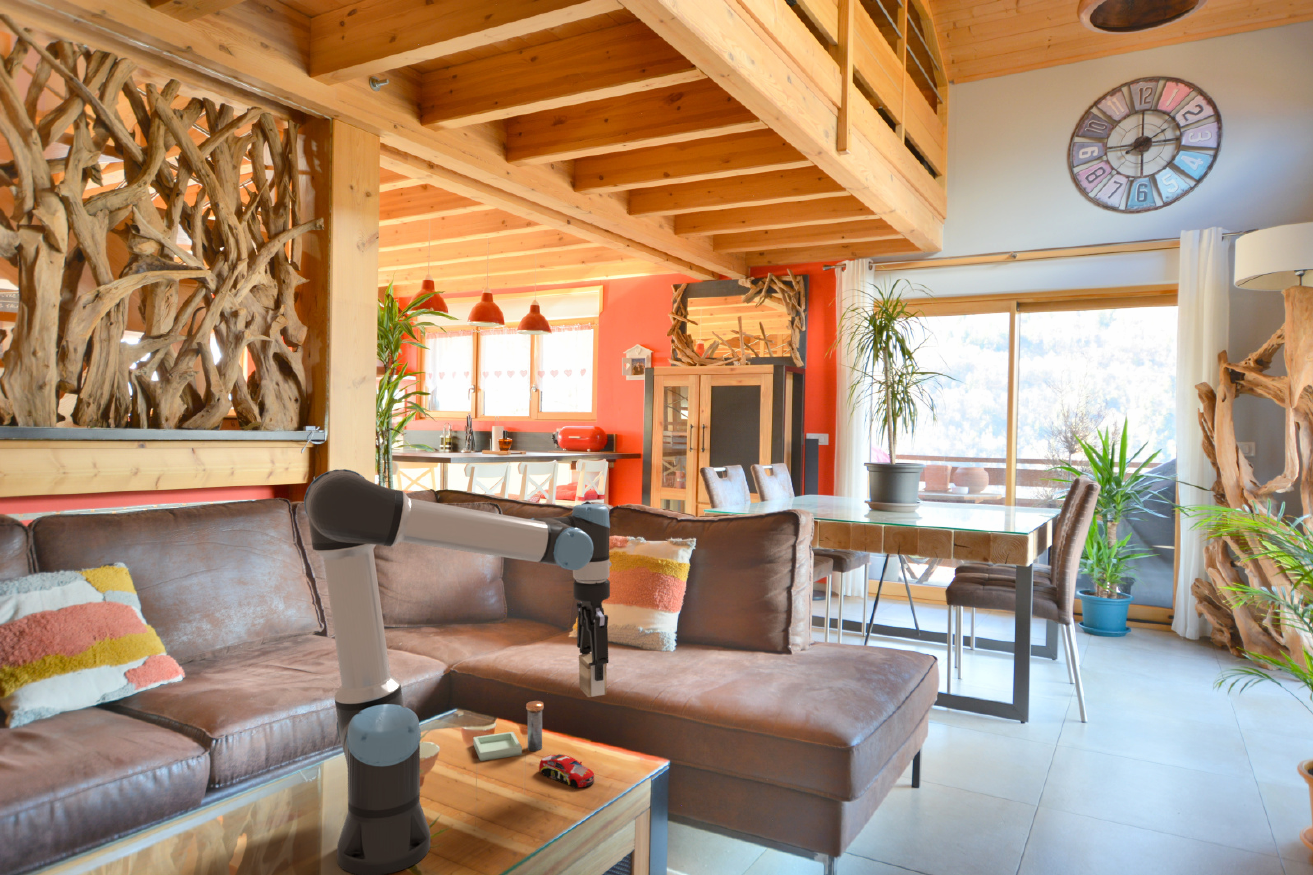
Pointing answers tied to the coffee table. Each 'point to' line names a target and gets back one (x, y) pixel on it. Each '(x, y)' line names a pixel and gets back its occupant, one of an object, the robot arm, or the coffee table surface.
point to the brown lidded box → (588, 674)
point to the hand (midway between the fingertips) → (592, 689)
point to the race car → (566, 770)
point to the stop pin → (535, 725)
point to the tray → (497, 746)
